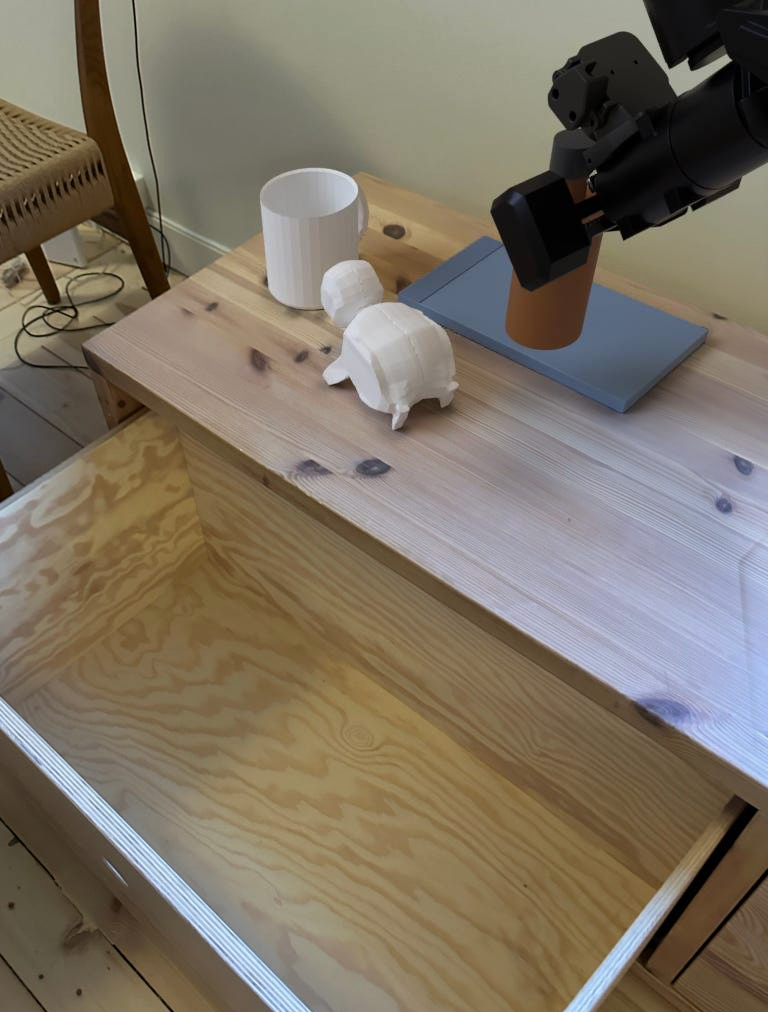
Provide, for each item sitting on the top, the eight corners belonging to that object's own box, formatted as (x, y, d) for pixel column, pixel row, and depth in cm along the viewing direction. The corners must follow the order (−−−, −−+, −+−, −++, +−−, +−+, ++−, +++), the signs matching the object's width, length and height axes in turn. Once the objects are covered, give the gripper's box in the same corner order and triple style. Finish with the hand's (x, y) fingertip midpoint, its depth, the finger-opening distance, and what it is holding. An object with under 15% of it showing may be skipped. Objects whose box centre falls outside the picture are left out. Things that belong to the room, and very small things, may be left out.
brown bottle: (593, 317, 72) (637, 127, 60) (563, 358, 69) (602, 167, 57) (523, 298, 74) (552, 111, 62) (492, 337, 71) (516, 149, 60)
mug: (300, 322, 86) (294, 229, 79) (251, 281, 91) (241, 189, 83) (400, 277, 89) (404, 184, 82) (348, 239, 94) (347, 148, 87)
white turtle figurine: (451, 418, 81) (365, 291, 84) (481, 362, 73) (385, 224, 76) (372, 455, 79) (287, 324, 82) (395, 402, 71) (299, 258, 74)
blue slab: (705, 341, 80) (709, 328, 79) (622, 414, 75) (626, 401, 74) (481, 246, 92) (483, 234, 91) (397, 304, 87) (397, 291, 86)
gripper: (767, -44, 53) (594, 96, 68) (533, 48, 48) (400, 179, 63) (829, 139, 56) (648, 237, 70) (611, 247, 50) (464, 328, 65)
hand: (544, 242), depth 67 cm, fingers closed on brown bottle, 6 cm apart
